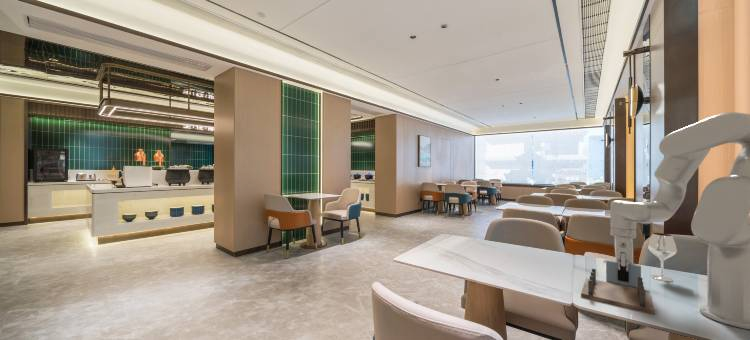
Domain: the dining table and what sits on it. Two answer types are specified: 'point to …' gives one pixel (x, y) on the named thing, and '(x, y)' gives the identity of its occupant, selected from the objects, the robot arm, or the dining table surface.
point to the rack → (618, 294)
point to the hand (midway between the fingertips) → (623, 279)
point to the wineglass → (662, 250)
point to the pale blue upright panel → (613, 273)
